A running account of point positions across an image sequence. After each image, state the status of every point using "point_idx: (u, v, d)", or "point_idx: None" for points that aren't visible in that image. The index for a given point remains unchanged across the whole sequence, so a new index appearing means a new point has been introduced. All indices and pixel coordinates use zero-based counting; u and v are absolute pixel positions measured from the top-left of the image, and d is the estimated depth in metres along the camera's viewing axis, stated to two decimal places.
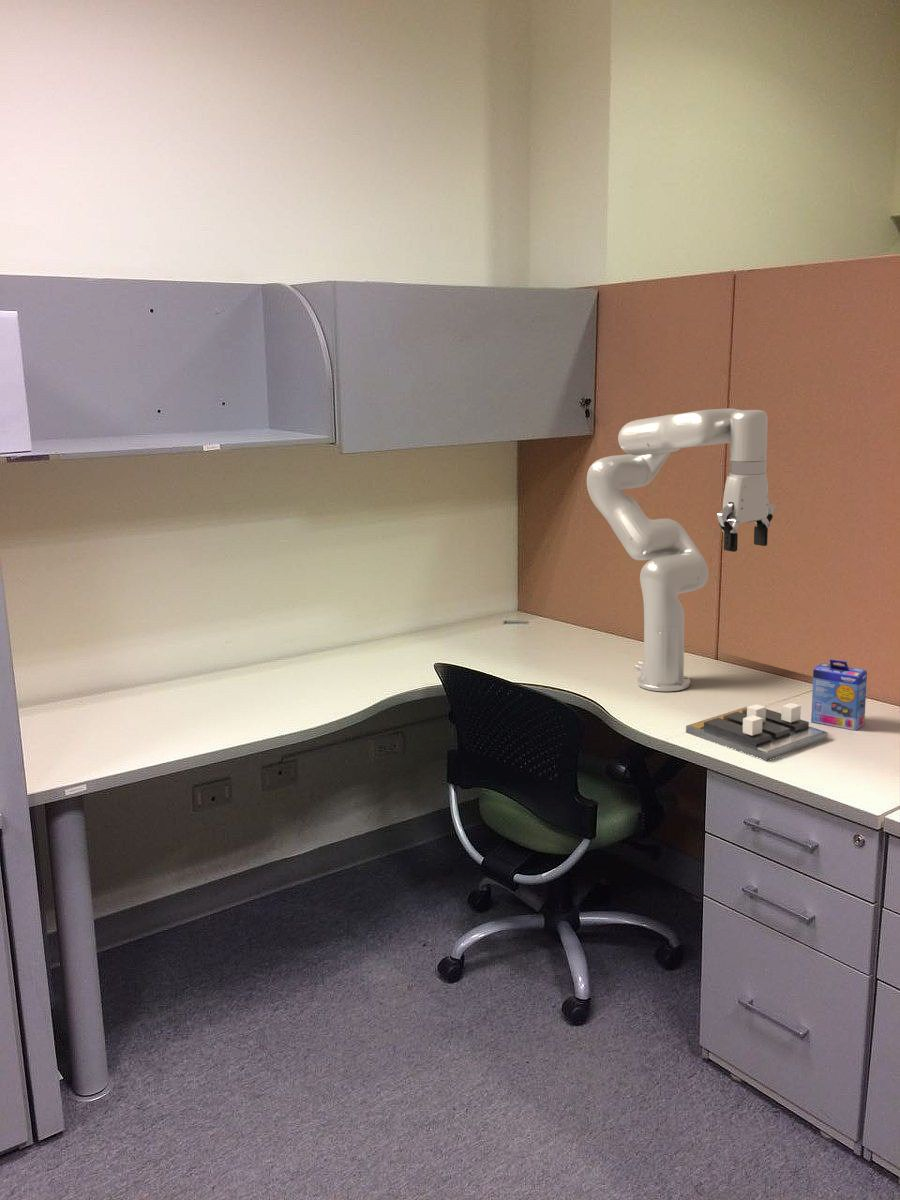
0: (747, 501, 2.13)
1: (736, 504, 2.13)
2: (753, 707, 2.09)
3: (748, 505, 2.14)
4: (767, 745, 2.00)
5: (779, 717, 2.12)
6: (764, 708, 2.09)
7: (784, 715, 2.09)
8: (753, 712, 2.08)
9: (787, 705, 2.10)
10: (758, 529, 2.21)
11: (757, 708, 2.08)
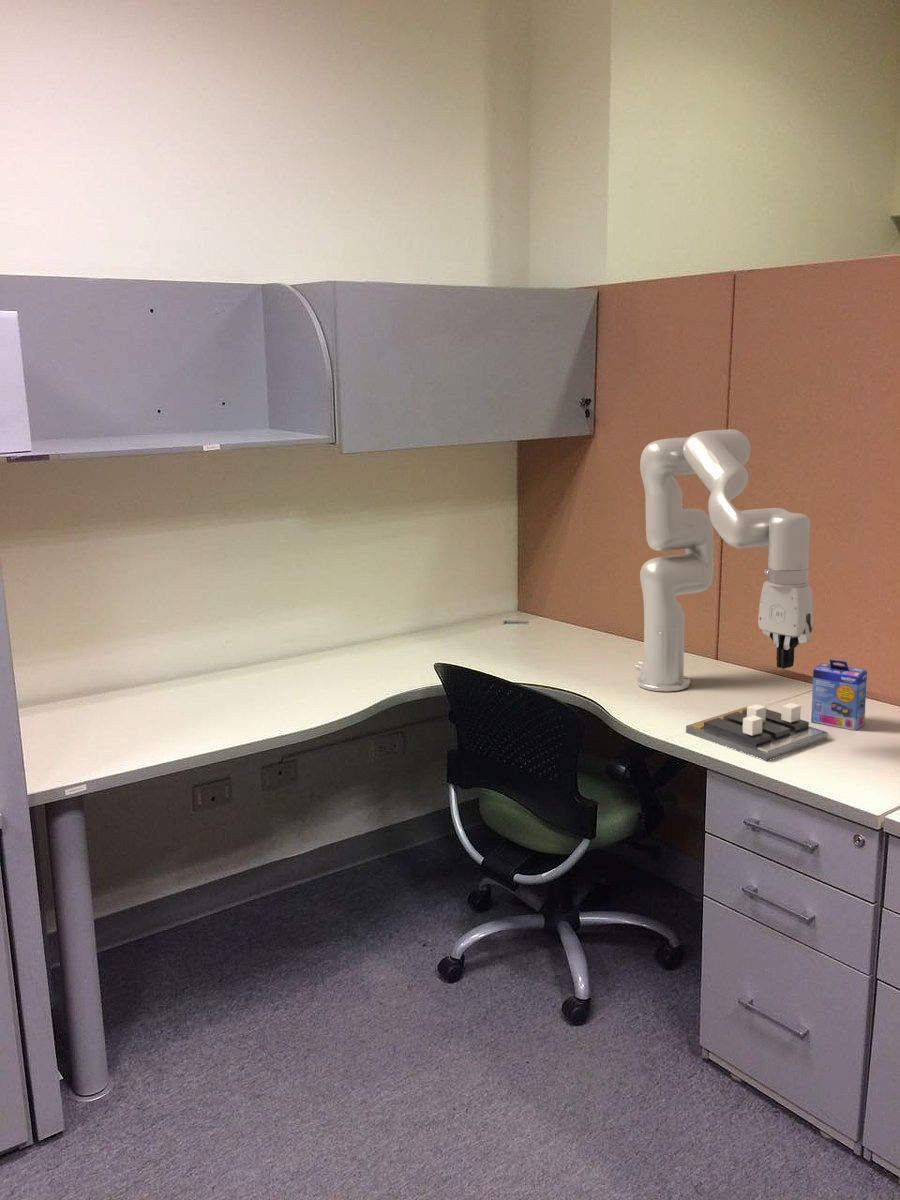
0: None
1: (812, 614, 1.96)
2: (753, 707, 2.09)
3: None
4: (767, 745, 2.00)
5: (779, 717, 2.12)
6: (764, 708, 2.09)
7: (784, 715, 2.09)
8: (753, 712, 2.08)
9: (787, 705, 2.10)
10: None
11: (757, 708, 2.08)
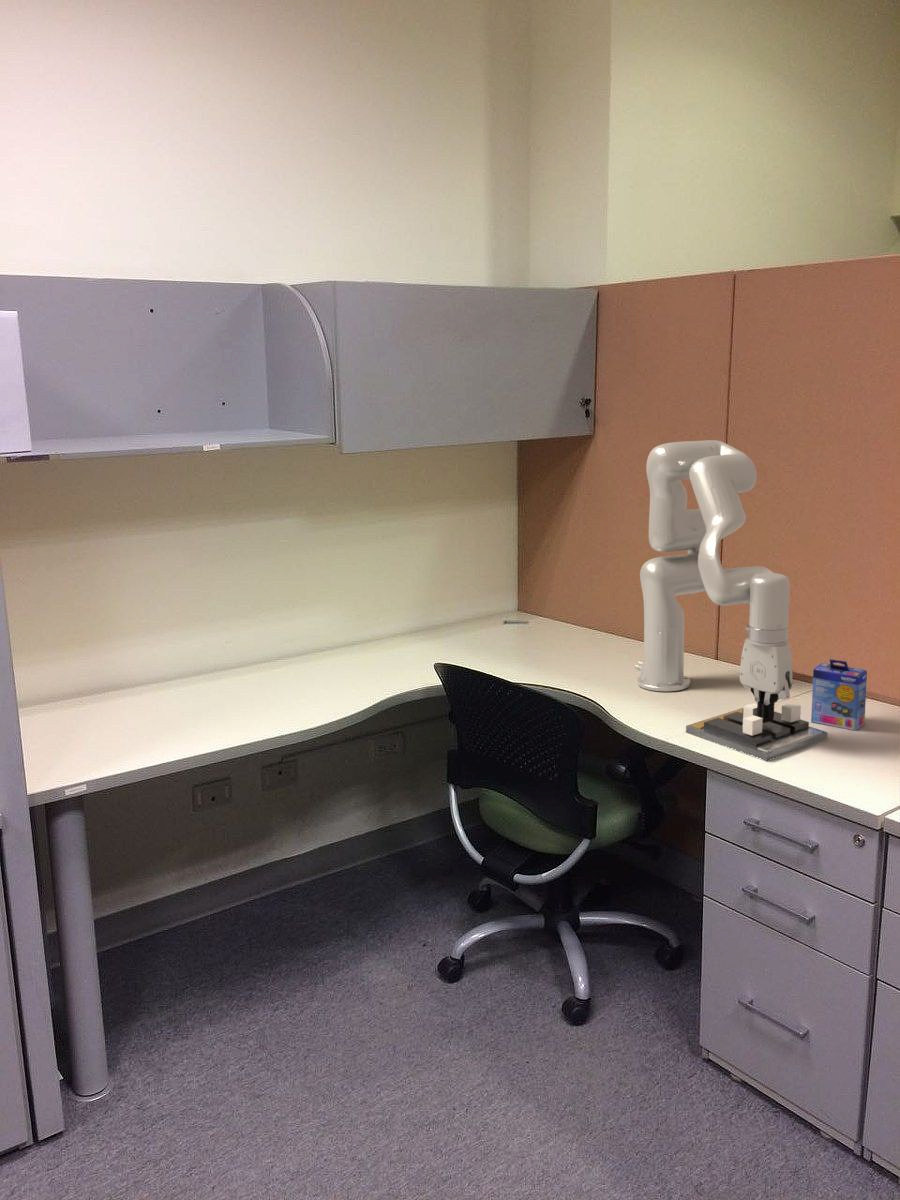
0: None
1: (791, 671, 2.02)
2: (750, 706, 2.09)
3: None
4: (767, 745, 2.00)
5: (779, 717, 2.12)
6: None
7: (784, 715, 2.09)
8: (750, 711, 2.09)
9: (787, 705, 2.10)
10: None
11: (754, 707, 2.09)
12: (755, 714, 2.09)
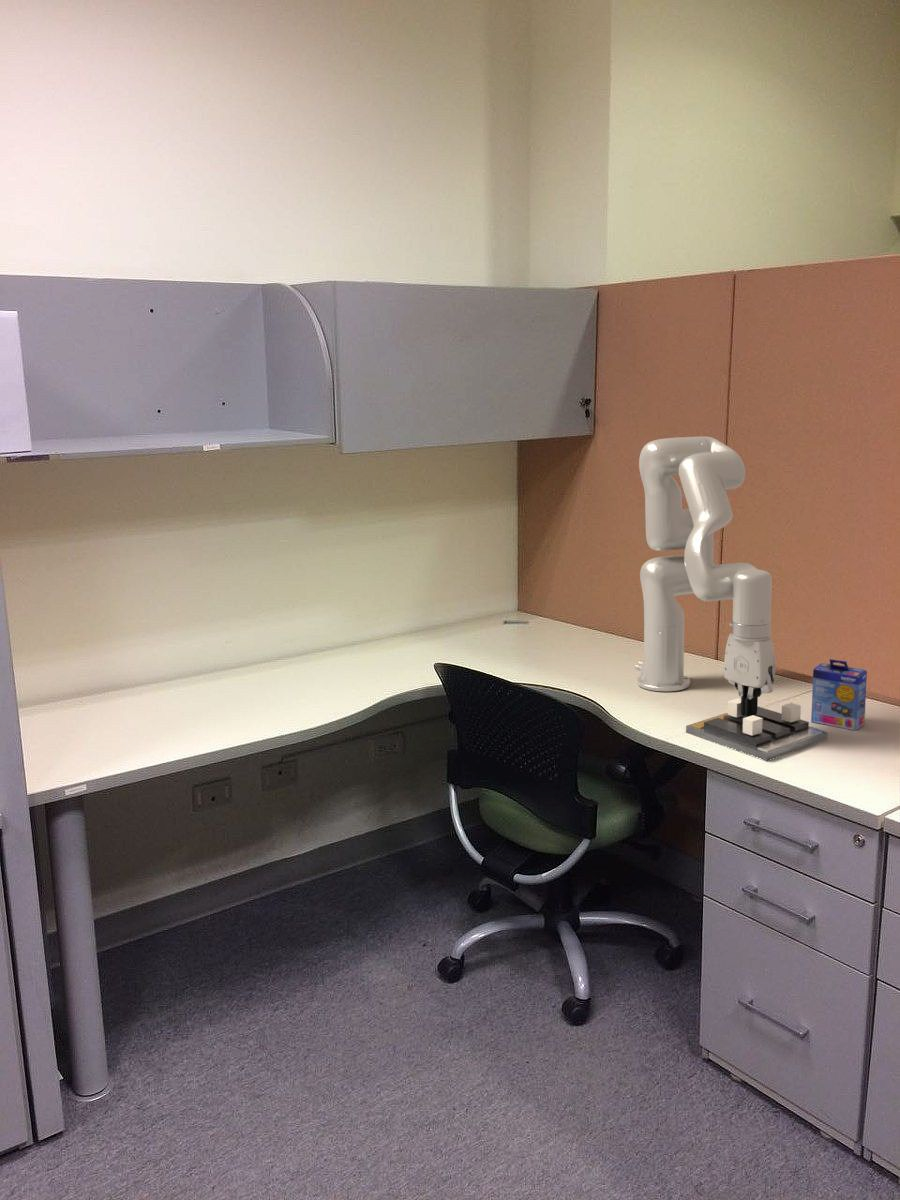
0: None
1: (774, 666, 2.05)
2: (734, 701, 2.13)
3: None
4: (767, 745, 2.00)
5: (779, 717, 2.12)
6: None
7: (784, 715, 2.09)
8: (734, 706, 2.12)
9: (787, 705, 2.10)
10: None
11: (738, 702, 2.12)
12: (739, 709, 2.12)
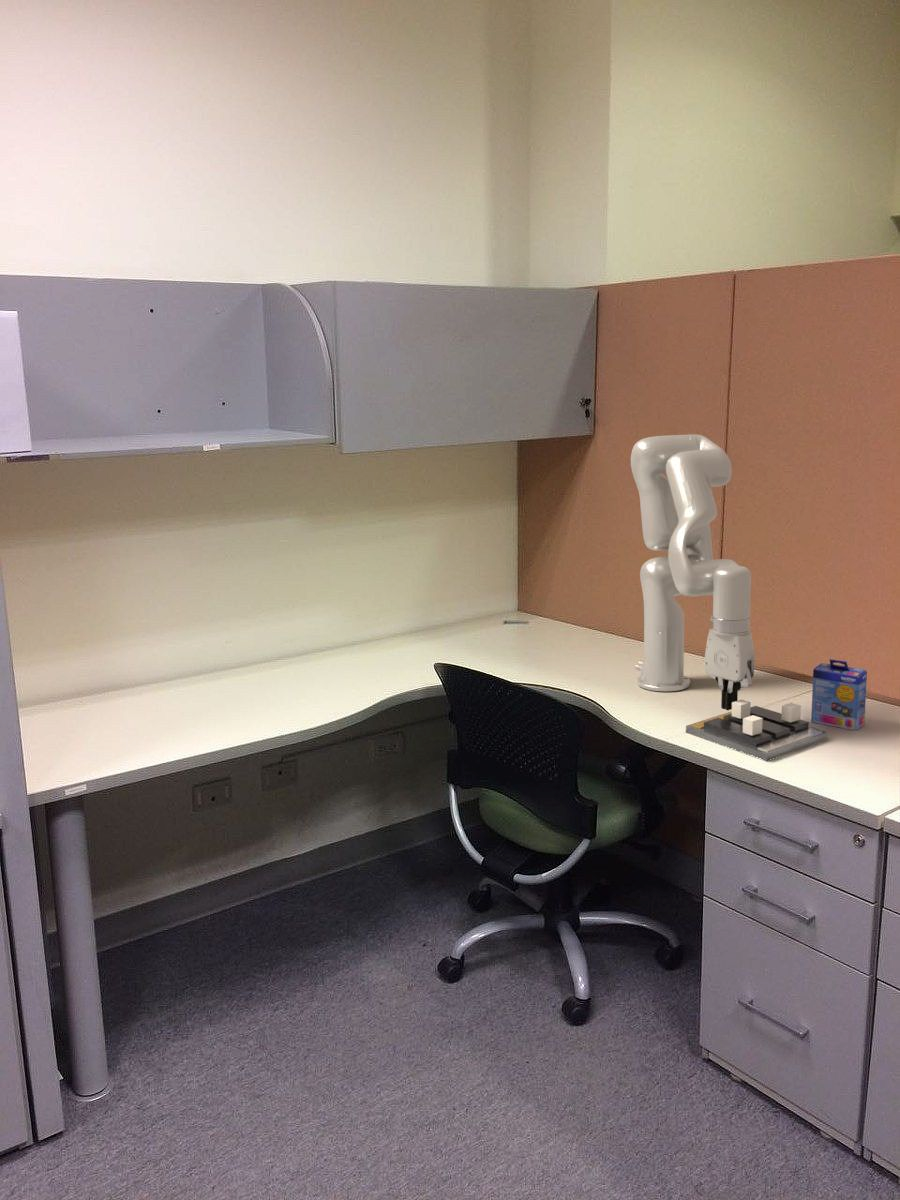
0: None
1: (753, 660, 2.10)
2: (738, 703, 2.12)
3: None
4: (767, 745, 2.00)
5: (779, 717, 2.12)
6: (749, 703, 2.12)
7: (784, 715, 2.09)
8: (738, 707, 2.11)
9: (787, 705, 2.10)
10: None
11: (742, 703, 2.12)
12: (743, 710, 2.11)
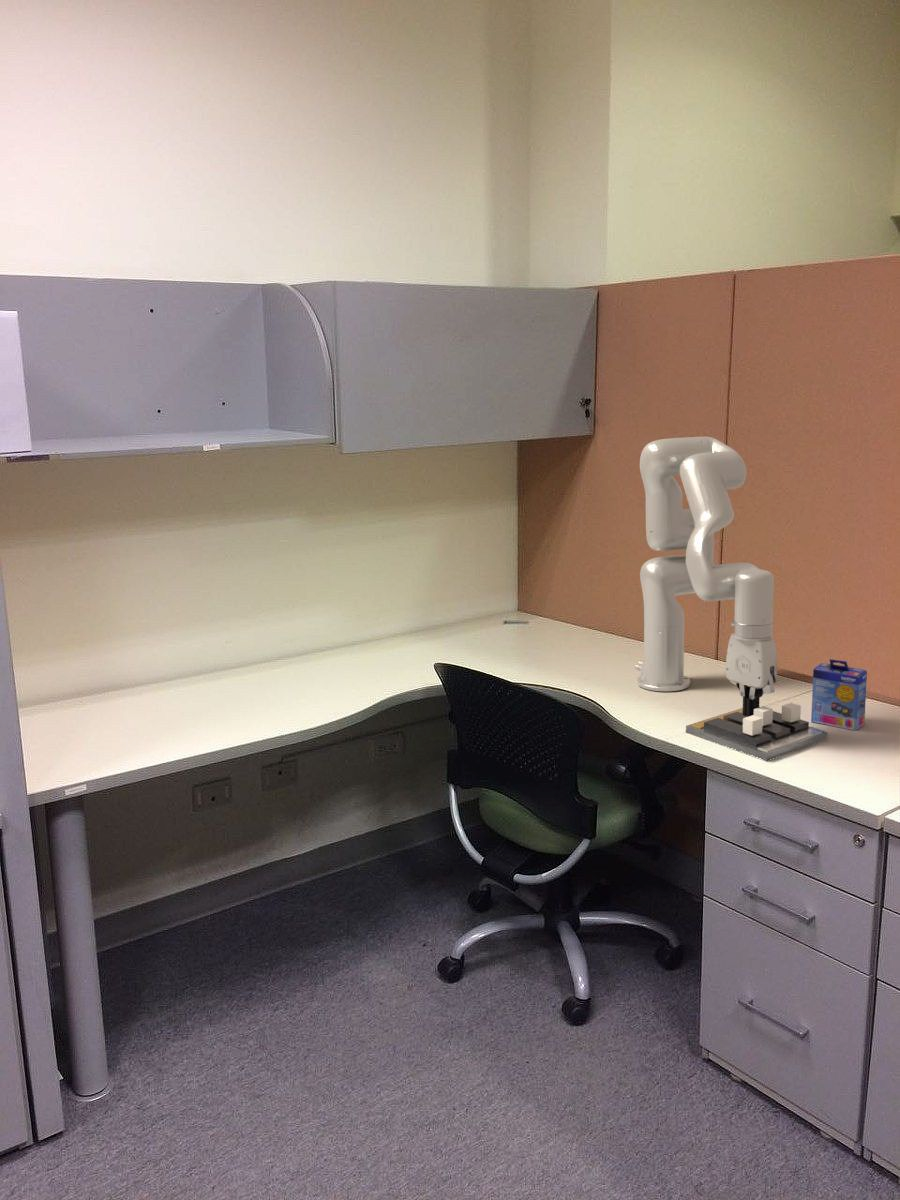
0: None
1: (776, 666, 2.05)
2: (760, 710, 2.07)
3: None
4: (767, 745, 2.00)
5: (779, 717, 2.12)
6: (771, 710, 2.07)
7: (784, 715, 2.09)
8: (760, 714, 2.07)
9: (787, 705, 2.10)
10: None
11: (764, 710, 2.07)
12: (765, 717, 2.07)
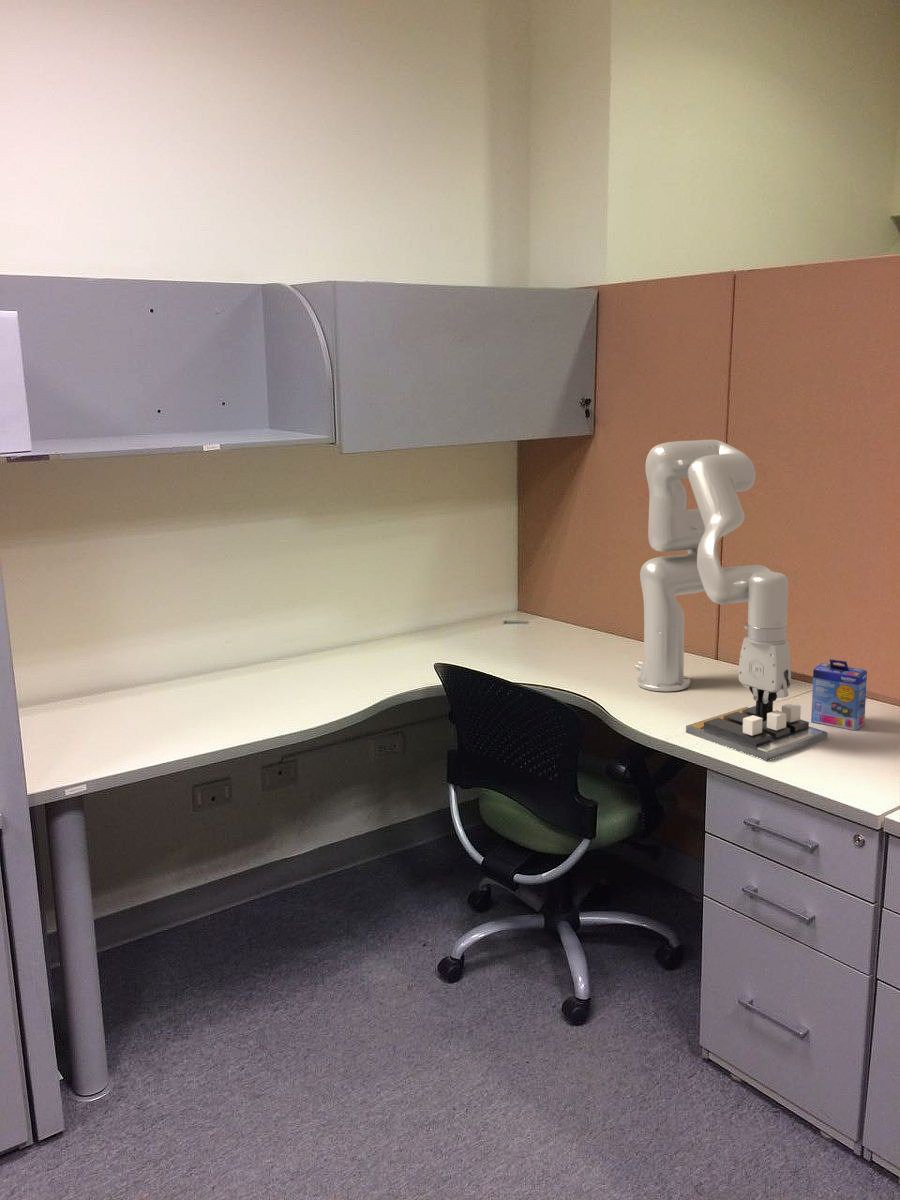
0: None
1: (790, 670, 2.02)
2: (773, 714, 2.05)
3: None
4: (767, 745, 2.00)
5: None
6: (784, 714, 2.05)
7: None
8: (773, 718, 2.04)
9: (787, 705, 2.10)
10: None
11: (777, 714, 2.04)
12: (779, 722, 2.04)
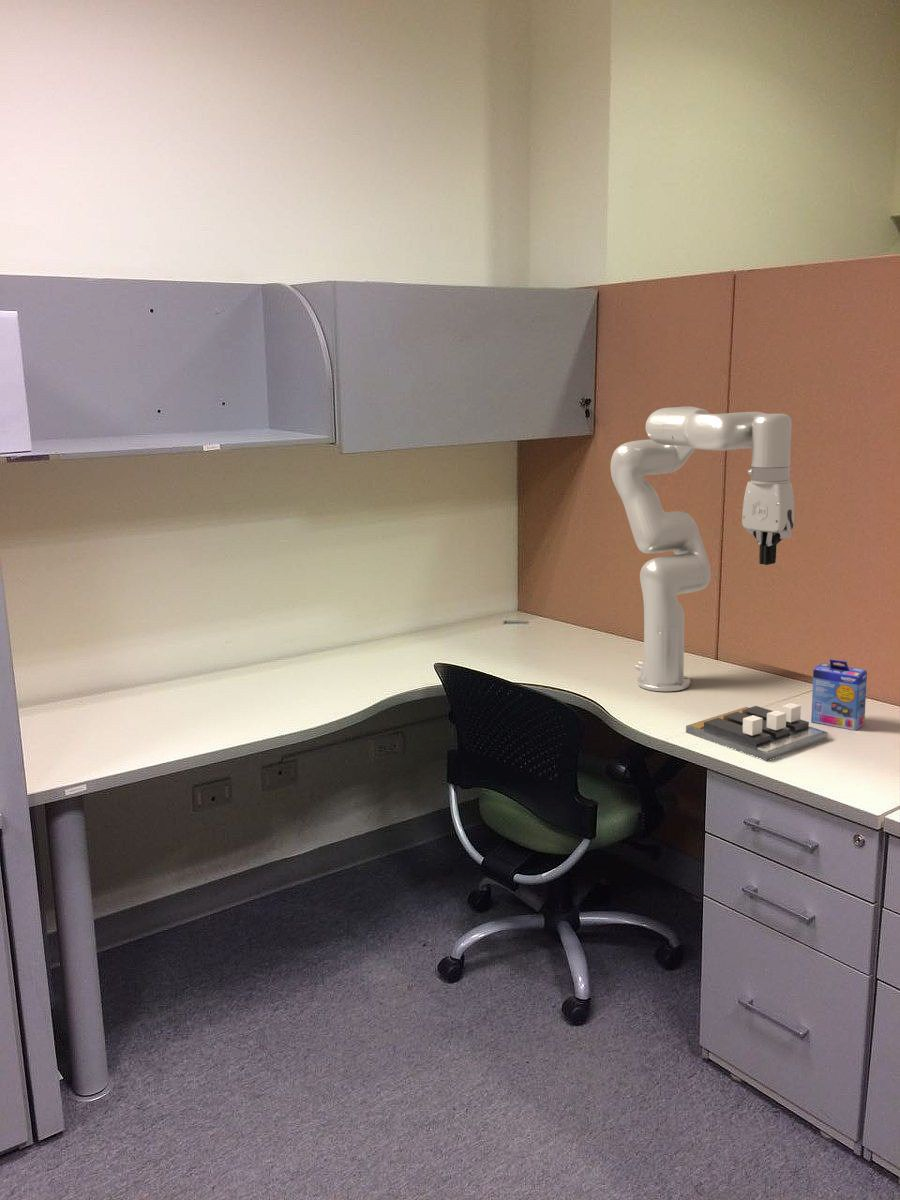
0: None
1: (793, 510, 2.04)
2: (773, 714, 2.05)
3: None
4: (767, 745, 2.00)
5: None
6: (784, 714, 2.05)
7: None
8: (773, 718, 2.04)
9: (787, 705, 2.10)
10: None
11: (777, 714, 2.04)
12: (779, 721, 2.04)
